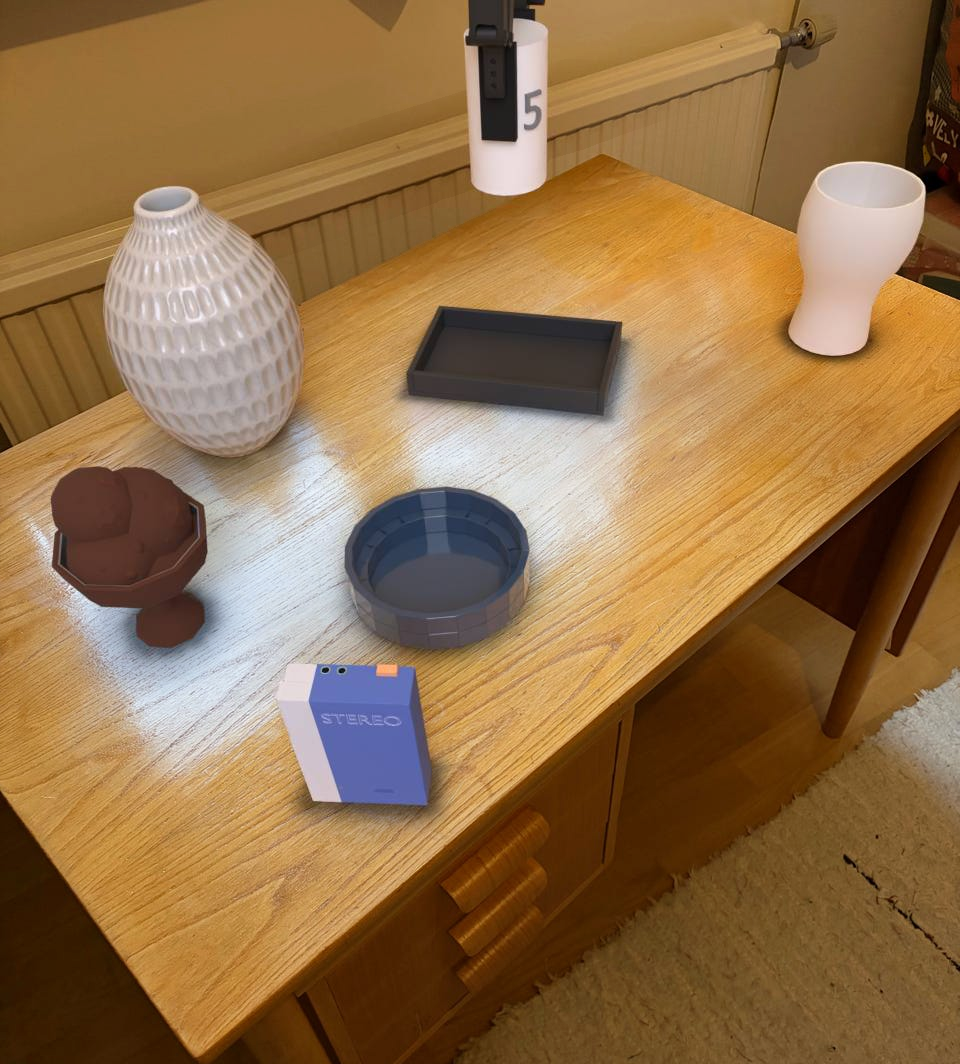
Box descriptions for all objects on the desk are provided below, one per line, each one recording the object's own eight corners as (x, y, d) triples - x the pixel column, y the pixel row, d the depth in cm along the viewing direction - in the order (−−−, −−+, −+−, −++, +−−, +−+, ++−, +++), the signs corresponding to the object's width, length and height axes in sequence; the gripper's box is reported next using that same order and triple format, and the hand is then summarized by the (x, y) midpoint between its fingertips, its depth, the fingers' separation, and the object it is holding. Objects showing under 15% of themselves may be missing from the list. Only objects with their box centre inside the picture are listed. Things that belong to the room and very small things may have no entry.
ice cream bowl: (158, 700, 67) (80, 556, 55) (73, 627, 72) (-15, 482, 60) (267, 614, 72) (216, 466, 60) (180, 552, 76) (118, 404, 65)
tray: (620, 343, 93) (622, 321, 91) (603, 415, 86) (604, 393, 84) (440, 326, 97) (438, 305, 95) (408, 394, 89) (406, 373, 87)
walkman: (432, 770, 62) (414, 662, 53) (427, 806, 60) (408, 701, 51) (319, 765, 63) (282, 658, 53) (311, 801, 61) (271, 696, 52)
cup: (755, 343, 92) (787, 193, 80) (800, 296, 97) (837, 149, 86) (856, 377, 88) (906, 224, 76) (898, 326, 93) (950, 175, 81)
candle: (503, 204, 73) (497, -19, 61) (456, 176, 76) (442, -40, 64) (563, 179, 75) (569, -41, 63) (515, 154, 78) (512, -59, 67)
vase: (121, 433, 87) (21, 200, 70) (264, 364, 94) (204, 135, 76) (207, 517, 79) (117, 277, 62) (356, 435, 85) (312, 197, 68)
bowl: (543, 534, 76) (544, 498, 73) (507, 665, 67) (506, 631, 64) (382, 513, 78) (376, 477, 75) (328, 637, 70) (318, 602, 67)
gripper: (477, -312, 61) (489, 72, 79) (395, -270, 49) (432, 171, 67) (588, -317, 59) (575, 76, 77) (532, -274, 48) (532, 177, 65)
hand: (509, 119), depth 72 cm, fingers closed on candle, 6 cm apart
